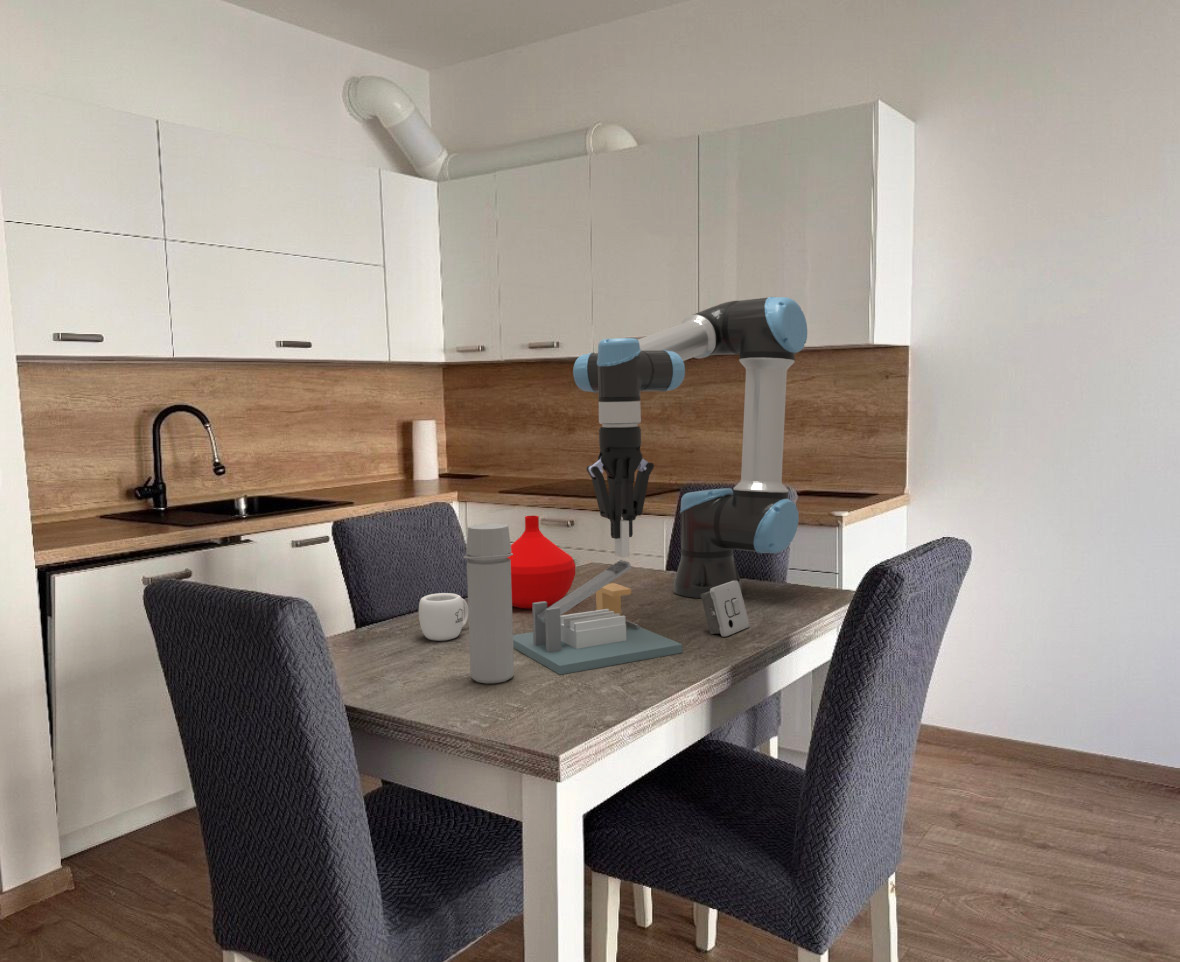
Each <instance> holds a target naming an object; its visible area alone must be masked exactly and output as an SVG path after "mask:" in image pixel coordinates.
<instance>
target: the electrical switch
mask: <svg viewBox="0 0 1180 962" xmlns="http://www.w3.org/2000/svg"><path fill="white" fill-rule="evenodd" d="M700 596H701V598H700V599H701V603H702V607H703V611H704V615H705V619H706V622H707V626H708V630H709V634H710V635H714V634H715V635H717V634H718V635H719V634H720V635H721V637H722V638H725V637H728V636H730V635H731V636H732V635H734V634H735V633H739V632H740V631H743V630H745V629H747V628H749V627H750V621H749V617H748V613H747V609H746V606H745V601H744V597H743V594H742V588H741V589H740V585H739V582H738V581H731V582H728V583H725V584H722V585H719V586H716V587H713V588H711V589H710V591H709V592H706V593H703V594H700Z"/></svg>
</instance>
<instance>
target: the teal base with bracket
mask: <svg viewBox="0 0 1180 962" xmlns="http://www.w3.org/2000/svg"><path fill="white" fill-rule="evenodd" d="M532 607H533V609H532V631H531V632H525V633H524V632H523V633H517V634H513V649H515V650H517V651H518V652H520V653H522V655H523V654H524V655H525V656H527V657H528V658H530V659H532V660H533V661H536V662H537V663H539V664H540V665H543V667H545V668H548V669H550V670H551V671H553V672H554V673H556V674H558V675H566V674H571V673H577V672H582V671H588V670H594V669H600V668H604V667H610V666H616V665H620V664H627V663H634V662H639V661H643V660H650V659H655V658H660V657H666V656H671V655H677V654H678V655H679V654H682V653H683V644H682V643H680V642H677V641H675V640H673V639H670V638H669V637H665V636H664V635H661V634H659V633H656V632H653V631H651V630H648V629H646V628H643V627H641V626H640V624H637V623H635V622H633V621H630V620H629V619H626V615H623V614H622V615H621V616H620V614H619V613H616V614H614V611H609V609H603V610H590V611H585V612H577V613H571V614H562V615H560V608H559V607H554V608H548V607H547V602H545V601H543V602H536V603H532ZM544 610H545V623H543V622H541V621H539V619H538V617H537V615H538V614H539V613H541V612H542V611H544Z"/></svg>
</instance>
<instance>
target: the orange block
mask: <svg viewBox="0 0 1180 962" xmlns="http://www.w3.org/2000/svg"><path fill="white" fill-rule="evenodd" d="M626 595H627V596H628V595H632V589H631V588H630V587H627V586H624V585H621V584H618V583H615V582H610V583H608V584H607V585H605V586H604V587H602V588H601V589H599V590H598V591H596V592H595V596H596V597H595V601H596V606H595V607H596V610H603V609H609V611H614V614H616V613H619V614H620V616H622V602H621V600H622V598H621V596H626ZM596 610H595V611H596Z"/></svg>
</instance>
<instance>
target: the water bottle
mask: <svg viewBox="0 0 1180 962" xmlns="http://www.w3.org/2000/svg"><path fill="white" fill-rule="evenodd" d="M466 539H467V540H466V541H467V542H466V555H464V556H463V559H467V561H466V579H467V580H466V581H467V582H466V583H467V605H468V634H469V635H468V637H469V638H468V639H469V640H468V641H469V642H468V643H469V666H470V667H469V668H470V669H469V670H470V678H472V680H474V681H475V682H477V683H480V684H486V685H487V684H500V683H505V682H506V681H509V680H511V679H512V678H513V676H514V674H515V673H514V672H515V667H514V666H515V662H514V661H515V660H514V659H515V658H514V657H515V656H514V648H513V635H514V632H513V631H514V626H513V606H512V590H511V559H509V558H507V557H510V556H511V555H513V553H511V545H512V543H511V538H510V529H509V524H505V523H498V522H487V523H478V524H477V523H475V524H471V525H469V526H468V527H467V538H466Z"/></svg>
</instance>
